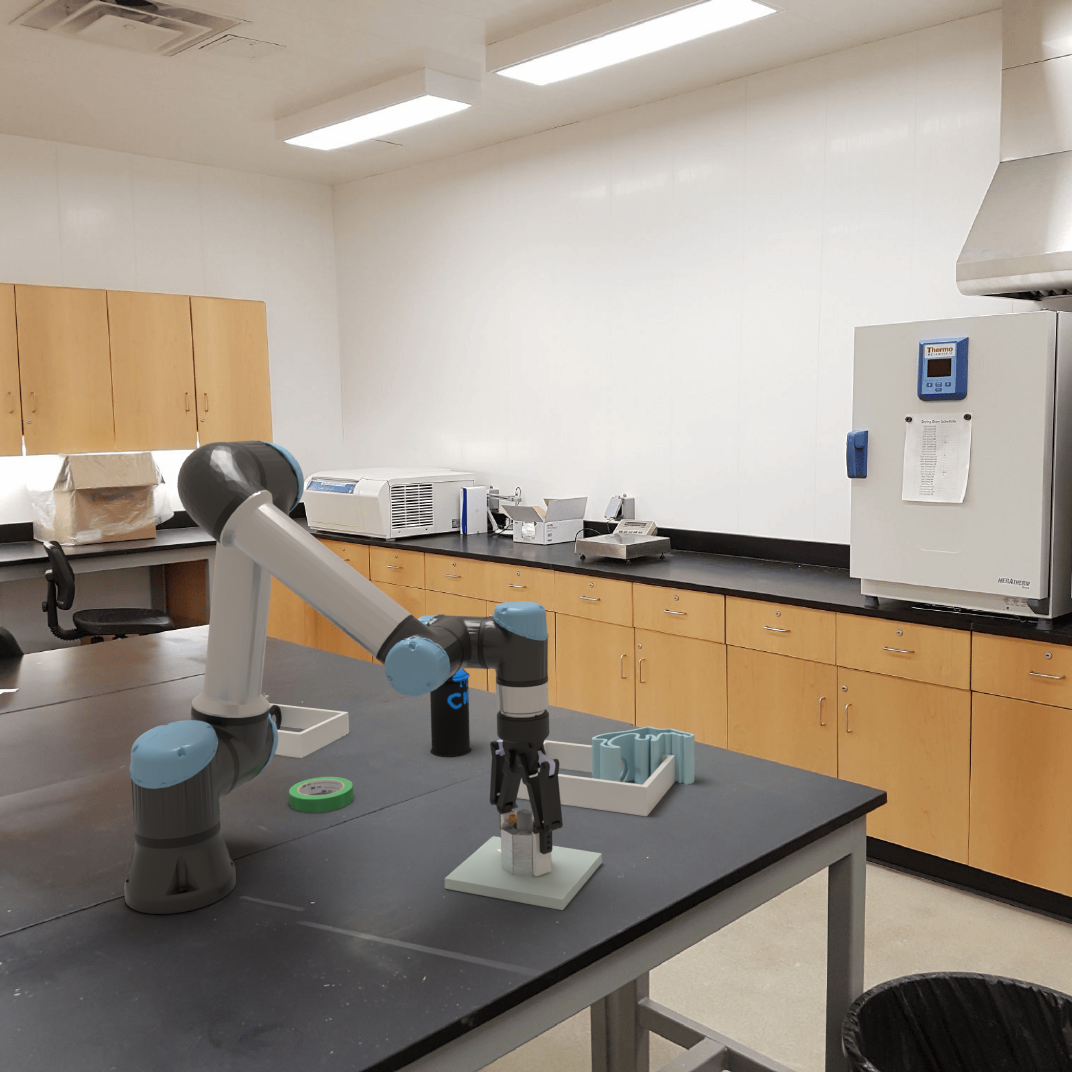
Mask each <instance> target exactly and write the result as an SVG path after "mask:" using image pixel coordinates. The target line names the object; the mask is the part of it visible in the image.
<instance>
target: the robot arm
mask: <svg viewBox="0 0 1072 1072" xmlns="http://www.w3.org/2000/svg"><path fill="white" fill-rule="evenodd" d="M300 465H301V464H300V463H299V461H298V460H297V459H296V458H295V457H294V455H293V454H292V453H291V452H290V451H289V450H288V449H286V448H285V447H284V446H282V445H279V444H277V443H273V442H270V441H269V442H268V441H263V440H254V439H253V440H250V439H249V440H244V441H243V440H242V441H241V440H240V441H239V440H238V441H229V442H227V441H216V442H214V441H213V442H209V443H206V444H203V445H201V446H199V447H198V448H196V449H193V451H192V452H191V453H190V454H189V455H188V456H187V457H186V458H185V459H184V461H183V463H182V464H181V467H180V468H179V471H178V474H177V486H176V487H177V493H178V497H179V500H180V502H181V505H182V507H183V509H184V510H185V511H186V513H187V514H188V515H189V517H190V518H191V520H193V522H195V523H196V524H197V525H198V527H200V528H201V529H202V530H203V531H205V532H206V533H207V534H208V535H209V536H210V537H211V538H213V539H214V540H215V541H216V548H215V558H214V559H215V560H214V569H213V570H214V571H213V578H212V579H213V582H212V591H211V592H212V593H211V602H210V611H209V612H210V613H209V626H208V635H207V636H208V637H207V645H206V647H207V648H206V657H205V658H206V659H205V666H204V681H203V690H202V691H201V692H200V693H199V694H197V695H196V696H195V697H194V698H193V699H192V701H191V708H190V709H191V710H190V719H188V720H186V719H184V720H178V721H177V720H176V721H172V722H168V724H166V725H165V724H163V725H162V724H161V725H157V726H155V727H152V728H151V729H149V730H147V731H145V732H144V733H142V734H141V735H139V736H138V737H137V738H136V740H135V741H134V742H133V744H132V747H131V749H130V763H129V769H128V770H129V777H130V779H131V796H132V799H131V800H132V813H133V828H134V848H133V852H132V856H131V859H130V864H129V867H128V872H127V873H128V874H127V875H126V877H125V880H124V888H123V889H124V902H125V903H126V905H127V906H128V907H129V908H130V909H132V910H135V911H136V912H140V913H145V914H155V915H167V914H178V913H185V912H189V911H194V910H197V909H201V908H203V907H208V906H209V905H212V904H215V903H216V902H218V901H220V900H222V899H224V898H225V897H226V896H228V895H229V894H230V893H231V892H232V891H233V890H234V888H235V886H236V883H237V880H236V879H237V876H236V875H237V874H236V866H235V863H234V861H233V859H232V858H231V857H230V854H229V849H228V848H227V844H226V842H225V838H224V836H223V834H222V829H221V828H222V827H221V808H220V807H221V805H220V803H221V802H220V801H221V799H223V798H224V797H226V796H227V795H229V794H230V793H232V792H234V791H235V790H237V789H239V788H240V787H241V786H243V785H244V784H247V783H249V782H250V781H253V780H254V779H255V778H256V777H258V776H259V775H260V774H261V773H262V772H263V771H264V770H265V769H266V768H267V767H268V766H269V764H270V763H271V762H272V761H273V759H274V757H275V753H276V750H277V746H278V731H277V726H276V723H275V722H273V721H272V719H271V715H270V714H269V708H270V705H269V703H270V701H269V702H268V701H267V700H266V698H265V697H264V696H263V695H262V694H261V692H262V687H263V686H262V685H263V678H264V677H263V675H264V665H265V657H266V646H267V645H266V643H267V634H268V625H269V624H268V623H269V615H270V604H271V595H272V594H271V593H272V583H273V577H274V578H275V579H276V580H277V581H279V582H280V583H281V584H282V585H284V586H285V587H286V588H287V589H289V590H290V591H291V592H292V593H294V594H295V595H297V596H298V598H299V599H301V600H303V601H304V602H305V603H306V604H307V605H308V606H309V607H311V608H312V609H314V610H315V611H316V612H318V613H319V614H320V615H321V616H323V618H325V619H327V621H328V622H330V623H332V625H334V626H335V627H336V628H337V629H339V630H340V631H341V632H342V633H344V634H345V635H346V636H347V637H348V638H350V639H351V640H352V641H354V642H355V643H356V644H357V645H359V647H361V648H362V649H364V650H365V651H367V653H368V654H370V655H371V656H372V657H374V658H375V659H376V660H378V662H380V663H381V664H382V665H383V666H384V674H385V677H386V678H387V681H388V682H389V683H388V684H389V685H390V687H392V688H393V689H394V690H395V691H396V692H397V693H399V694H400V695H403V696H408V697H413V698H414V697H421V696H424V695H427V694H428V693H429V694H430V692H431V691H433V690H436V689H437V688H438V687H440V686H441V685H443V684H444V682H445V681H446V680H447V679H448V678H449V677H451V676H452V675H454V674H456V673H457V672H458V671H459V670H461V669H462V668H463V669H479V670H481V669H482V670H490V669H491V670H495V671H494V672H495V707H496V709H497V710H498V712H497V713H496V734H497V737H498V738H499V739H498V740H497V739H496V740H494V741H490V743H489V745H490V746H489V747H490V753H491V768H490V770H491V771H490V785H489V787H490V788H489V803H490V805H492V806H495V807H496V810H497V812H498V813H499V831H500V832H501V827H502V824H503V822H504V821H505V820H509V819H510V818H509V815H511V814H515V815H517V811H518V810H516V809H518V808H519V805H518V804H517V799H518V798H517V794H518V790H519V786H520V782H521V778H522V782H523V784H525V785H526V786H527V791H528V795H529V799H530V800H529V803H530V808H531V810H532V812H533V817H534V821H535V825H536V829H534V830H532V838H533V875H535V876H539V875H542V874H545V873H548V872H551V852H552V849H553V848H552V846H553V831H556V830H557V829H558V830H559V829H562V828H563V825H564V824H563V815H562V812H563V811H562V804H561V801H560V791H559V780H558V774H559V771H560V768H559V760H558V759H553V760H551V759H549V758H548V757H547V756H546V752H545V749H544V741H545V740H547V738H548V737H549V735H550V713H549V711H548V710H547V709H548V708H549V632H548V622H547V620H548V619H547V611H546V609H545V607H544V606H543V604H541V603H538V602H535V601H526V600H523V601H522V600H518V601H505V602H500V603H498V604H497V605H496V606H495V608H494V610H493V612H494V613H493V615H490V616H472V615H471V616H470V615H469V616H468V615H447V614H446V615H445V614H443V613H441V614H436V615H434V614H433V615H422V616H420V617H418V618H417V617H415V616H414V615H413V614H412V613H410V612H409V611H408V610H407V609H406V608H404V607H403V606H402V605H401V604H399V602H397V601H396V600H394V598H392V597H390V596H389V595H388V594H387V593H385V592H384V591H383V590H382V589H380V588H379V586H377V585H375V584H374V583H373V582H372V581H371V580H369V579H368V578H366V577H365V575H363V574H362V573H360V572H359V571H357V570H356V568H354V567H353V566H352V565H350V564H349V563H348V562H347V561H345V560H344V559H343V558H341V557H340V556H339V555H338V554H336V553H335V552H333V550H331V549H330V548H329V547H327V546H326V545H325V544H324V543H323V542H321V541H320V540H318V538H316V537H315V536H314V535H312V534H311V533H310V532H309V531H307V530H306V529H305V528H303V527H302V526H301V525H300V524H298V522H297V521H295V520H294V519H292V518H291V517H290V516H289V515H290V513H291V512H292V511H293V510H294V509H295V508H296V507H297V506H298V504H299V503H300V502H301V499H302V497H303V494H304V489H305V479H304V473H303V471H302V468H301V466H300ZM537 773H538V775H537V776H534V777H531V778H530V777H529V776H531V775H535V774H537Z"/></svg>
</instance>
